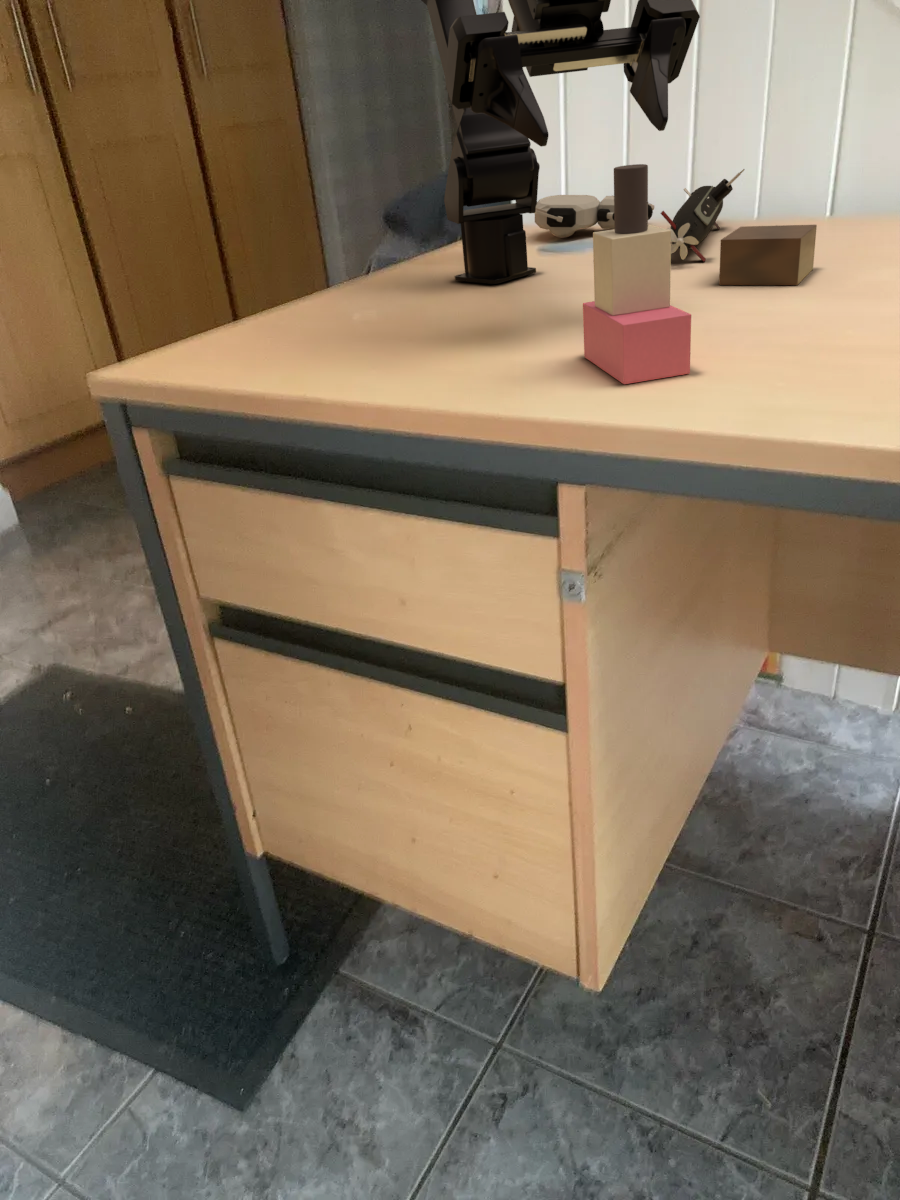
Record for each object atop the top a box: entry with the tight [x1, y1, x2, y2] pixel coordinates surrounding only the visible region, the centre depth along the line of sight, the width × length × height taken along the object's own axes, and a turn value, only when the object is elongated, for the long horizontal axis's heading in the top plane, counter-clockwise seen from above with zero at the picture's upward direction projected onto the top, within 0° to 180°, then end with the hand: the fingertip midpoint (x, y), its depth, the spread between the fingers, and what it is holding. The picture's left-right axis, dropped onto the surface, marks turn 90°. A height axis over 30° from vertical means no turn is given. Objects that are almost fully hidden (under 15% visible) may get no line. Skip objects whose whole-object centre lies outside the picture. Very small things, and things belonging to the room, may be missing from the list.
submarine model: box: [660, 168, 745, 263], centre depth 106 cm, size 31×7×10 cm
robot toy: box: [534, 194, 655, 239], centre depth 120 cm, size 12×4×15 cm
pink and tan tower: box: [582, 163, 692, 385], centre depth 64 cm, size 8×5×13 cm, turn 12°
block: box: [718, 224, 818, 286], centre depth 87 cm, size 7×7×4 cm
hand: (605, 133), depth 68 cm, fingers open, 9 cm apart
